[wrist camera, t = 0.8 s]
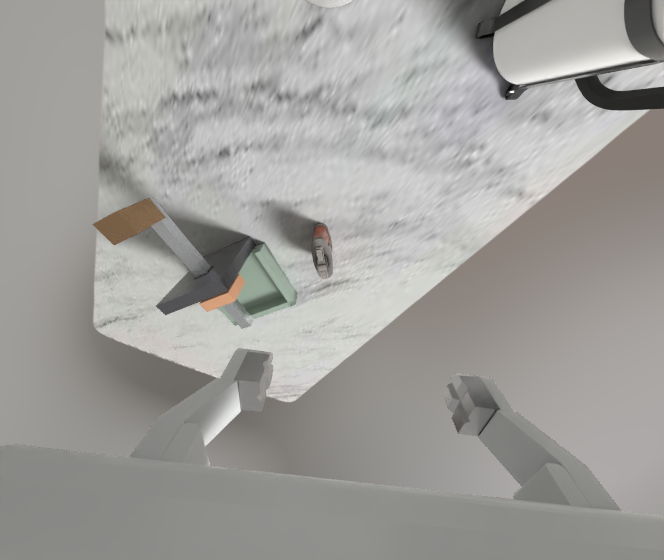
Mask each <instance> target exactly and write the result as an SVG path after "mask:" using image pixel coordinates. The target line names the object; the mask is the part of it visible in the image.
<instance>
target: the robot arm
mask: <svg viewBox="0 0 664 560" xmlns="http://www.w3.org/2000/svg"><path fill="white" fill-rule="evenodd" d="M307 1H308V2H310V3H312V4H314V5H317V6H321V7H327V8H332V7H339V6H342V5H345V4H347V3H349V2H351V1H353V0H307ZM272 359H273V354H272V353H271V352H264V351H257V350H248V349H241V348H238V349H237V350H236V351H235V353H234V354H233V356H232V358H231V360H230V362H229V363H228V365H227V367H226V369H225V371H224V372H223V374H222V376H221V378H220V379H219V378H216V379H215V380H213V381H212V382H210V383H209V384H208V385H206V386H204V387H203V388H201V389H200V390H198V391H197V392H195V393H194V394H193V395H191V396H189V397H188V398H186V399H185V400H183V401H182V402H181V403H179V404H177V405H176V406H174V407H173V408H172V409H170V410H169V411H167V412H165V413H164V414H163V415H161V416H160V417H158V418H157V419H156V420H155V422H154V423H153V425H152V426H151V427H150V429H149V430H148V432H147V433H146V435H145V436H144V437H143V439H142V440H141V441H140V443H139V444H138V446H137V447H136V448H135V450H134V451H133V453H132V454H131V455H130V457H124V456H115V455H106V454H96V453H87V452H79V451H70V450H60V449H52V448H43V447H35V446H26V445H5V446H1V447H0V560H664V516H662V515H653V514H643V513H635V512H626V511H621V509H620V508H619V507H618V506H617V504H616V503H615V502H614V500H613V499H612V498H611V496H610V495H609V494H608V493H607V491H606V490H605V489H604V488H603V486H602V485H601V484H600V482H599V481H598V480H597V478H596V477H595V476H594V474H592V472H591V471H590V469H589V468H588V467H587V466H586V465H585V464H583V463H582V462H581V461H580V460H578V459H577V458H576V457H575V456H573V455H572V454H571V453H569V452H568V451H567V450H565V449H564V448H563V447H562V446H560V445H559V444H558V443H557V442H555V441H554V440H553V439H551V438H550V437H549V436H547V435H546V434H545V433H544V432H542V431H541V430H540V429H538V428H537V427H536V426H535V425H533V424H532V423H531V422H529V421H528V420H527V419H525V418H524V417H523V416H522V415H521V414H519V413H518V412H514V411H513V409H512V408H511V406H510V405H509V403H508V402H507V400H506V399H505V397H504V396H503V394H502V393H501V391H500V390H499V389H498V387H497V385H496V384H495V382H494V381H493V379H491V378H490V377H486V376H476V375H467V374H458V373H455V374H453V375H452V377H451V381H452V383H450V384H449V385H447V387H446V389H445V394H444V397H445V402H446V405H447V407H448V409H450V411H452V412H453V415H452V420H453V422H454V425H455V427H456V430H457V432H458V433H459V434H466V435H472V436H479V437H478V438H479V439H480V440H481V441H482V442H483V443H484V445H485V446H486V447H487V448H488V449H489V450H490V451H491V453H492V454H493V455H494V456H495V457H496V458H497V459H498V460H499V462H500V463H501V464H502V465H503V466H504V467H505V468H506V469H507V470H508V472H509V473H510V474H511V475H512V476H513V477H514V479H515V480H516V481H517V482H518V483H519V484H520V485H521V486H522V487H521V488H520V489H518V490H517V491H516V492H515V493H514V496H513V498H514V499H506V498H498V497H488V496H479V495H471V494H461V493H452V492H443V491H434V490H425V489H416V488H407V487H398V486H389V485H380V484H371V483H362V482H353V481H343V480H334V479H324V478H315V477H307V476H298V475H289V474H280V473H270V472H261V471H251V470H242V469H234V468H225V467H215V466H209V465H210V462H209V459H208V455H207V451H206V448H205V446H206V445H207V444H208V443H209V442H210V441H211V440H212V439H213V438H214V437H215V436H216V435H217V434H218V433H219V432H220V431H221V430H222V429H223V428H224V427H225V426H226V425H227V424H228V423H229V422H230V421H231V420H232V419H233V418H234V417H235V416H236V415H237V414H238V413H239V412H240V411H241V410H250V411H262V408H263V405H264V401H265V398H266V390H267V389H268V388H269V386H270V383H271V379H272V374H273V365H272V364H271V362H272Z"/></svg>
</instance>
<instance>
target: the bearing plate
mask: <svg viewBox="0 0 664 560" xmlns="http://www.w3.org/2000/svg"><path fill="white" fill-rule="evenodd" d="M254 247H255V243H254V242H253V240H252V239H251V237H248V238H245V239H243V240H241V241H239V242H236V243H234V244H232V245H230V246H227V247H225V248H223V249H220V250H218V251H216V252H214V253H211V254H209V255H207V256H205V257H203V258H204V259H205V261H206V262H207V263H208V264H209V266H210V267H211V268H212V269H211V270H210V271H209V273H208V274H207V275H204V276H202V277H200V278H196V276H195V275H194V274H193V273H192V272H191V271H189V272H188V273H187V274H186V275H185V276H184V277H183V278H182V279H181V280H180V281H179V282H178V283H177V284H176V286H175V287H174V288H173V289H172V290H171V291H170V292H169V293H168V294H167V295H166V296H165V297H164V298H163V299H162V300H161V301H160V302H159V303H158V304H157V306H156V307H157V308H158V309H160V310H161V311H162V312H163V313H164V314H165V315H167V314H170V313H172V312H175V311H177V310H180V309H182V308H185V307H187V306H190V305H192V304H195V303H198V302H200V301H203V300H205V299H208V298H210V297H213V296H215V295H218V294H220V293H223V292H226V291H228V290H229V288H230V286H231V285H232V283H233V281H234V280H235V278H236V276H237V275H238V273H239V271H240V270H241V268H242V267H243V265H244V263H245V262H246V260H247V258H248V257H249V255H250V253H251V252H252V250H253V248H254Z"/></svg>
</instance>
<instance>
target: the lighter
mask: <svg viewBox="0 0 664 560" xmlns="http://www.w3.org/2000/svg"><path fill="white" fill-rule="evenodd" d="M312 256H313V262H314V265H315V268H316V270H317V272H318V274H319V276H320V277H321V278H322V279H327V278H329V277H330V276H331V275H332V273H333V262H332V241H331V237H330V233H329V231H328V228H327V226H326V225H325V224H322V223H319V224H317V225H316V226H315V227H314V240H313V241H312Z"/></svg>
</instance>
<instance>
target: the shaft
mask: <svg viewBox="0 0 664 560" xmlns="http://www.w3.org/2000/svg"><path fill="white" fill-rule="evenodd" d="M93 225H94V226H95V227H96V228H97V229H98V230H99V231H100V232H101V233H102V234H103V235H104V236H105V237H106V238H107V239H108V240H109V241H110V242H111V243H112V244H113V245H116V244H118V243H120V242H122V241H124V240H126V239H128V238H130V237H132V236H134V235H136V234H138V233H140V232H141V231H143V230H145V229H147V228H148V227H150V226H151V227H152V228H153V229H154V230H155V231H156V233H157V234H158V235H159V236H160V237H161V238H162V239H163V240H164V242H165V243H166V244H167V245H168V246H169V247H170V248H171V249H172V251H173V252H174V253H175V254H176V255H177V256H178V257H179V258H180V260H181V261H182V262H183V263H184V264H185V265H186V266H187V267H188V269H189V270H190V271H191V272H192V273H193V274H194V275H195V276H196V278H200V277H202V276H204V275H207V274H208V273H209V271H210V270H211V269H212V268H211V267H210V266H209V264H208V263H207V262H206V261H205V259H204V258H203V257H202V256H201V255H200V253H199V252H198V251H197V250H196V249H195V247H194V246H193V245H192V244H191V242H190V241H189V240H188V239H187V238H186V236H185V235H184V234H183V233H182V232H181V230H180V229H179V228H178V227H177V226H176V224H175V223H174V222H173V221H172V219H171V218H170V217H169V216H168V215H167V213H166V212H165V211H164V210H163V209H162V207H161V206H160V205H159V204H158V203H157V201H156V200H155V199H154V198H153V197H152V198H148V199H145V200H143V201H141V202H138V203H136V204H133V205H131V206H128V207H126V208H123V209H121V210H119V211H116V212H114V213H113V214H111V215H109V216H107V217H105V218H103V219H102V220H100V221H98V222H96V223H94V224H93ZM222 307H223V308H224V309H225V310H226V311H227V312H228V314H229V315H230V316H231V317H232V318H233V319H234V320H235V321H236V323H237V324H238V325H239V326H240V327H241V328H242V329H243V328H246V327H249V326H251V324H252V321H253V318H252V316H251V315H250V314H249V313H248V312H247V310H246V309H245V308H244V307H243V305H242V304H241V303H240V302H239V301H238V299H236V301H234V302H232V303H229V304H226V305H224V306H222Z"/></svg>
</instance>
